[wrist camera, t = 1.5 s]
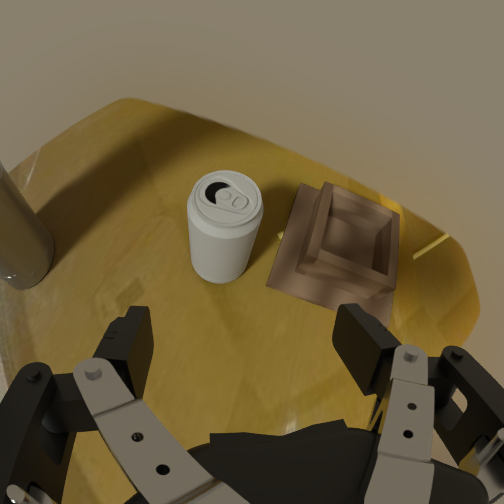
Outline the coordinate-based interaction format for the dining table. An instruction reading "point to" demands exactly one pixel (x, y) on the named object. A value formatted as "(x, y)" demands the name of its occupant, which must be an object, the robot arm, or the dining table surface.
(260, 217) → the beverage can
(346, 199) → the well
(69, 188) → the dining table surface
